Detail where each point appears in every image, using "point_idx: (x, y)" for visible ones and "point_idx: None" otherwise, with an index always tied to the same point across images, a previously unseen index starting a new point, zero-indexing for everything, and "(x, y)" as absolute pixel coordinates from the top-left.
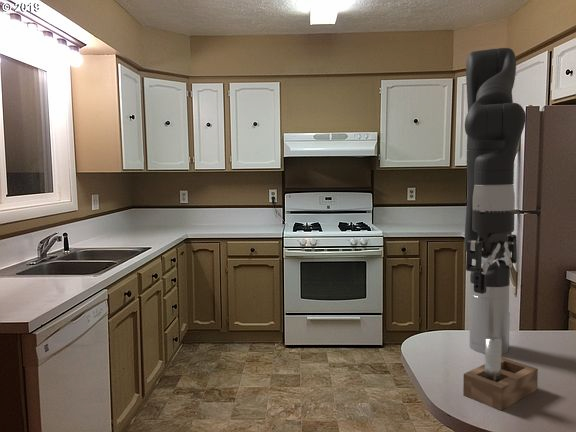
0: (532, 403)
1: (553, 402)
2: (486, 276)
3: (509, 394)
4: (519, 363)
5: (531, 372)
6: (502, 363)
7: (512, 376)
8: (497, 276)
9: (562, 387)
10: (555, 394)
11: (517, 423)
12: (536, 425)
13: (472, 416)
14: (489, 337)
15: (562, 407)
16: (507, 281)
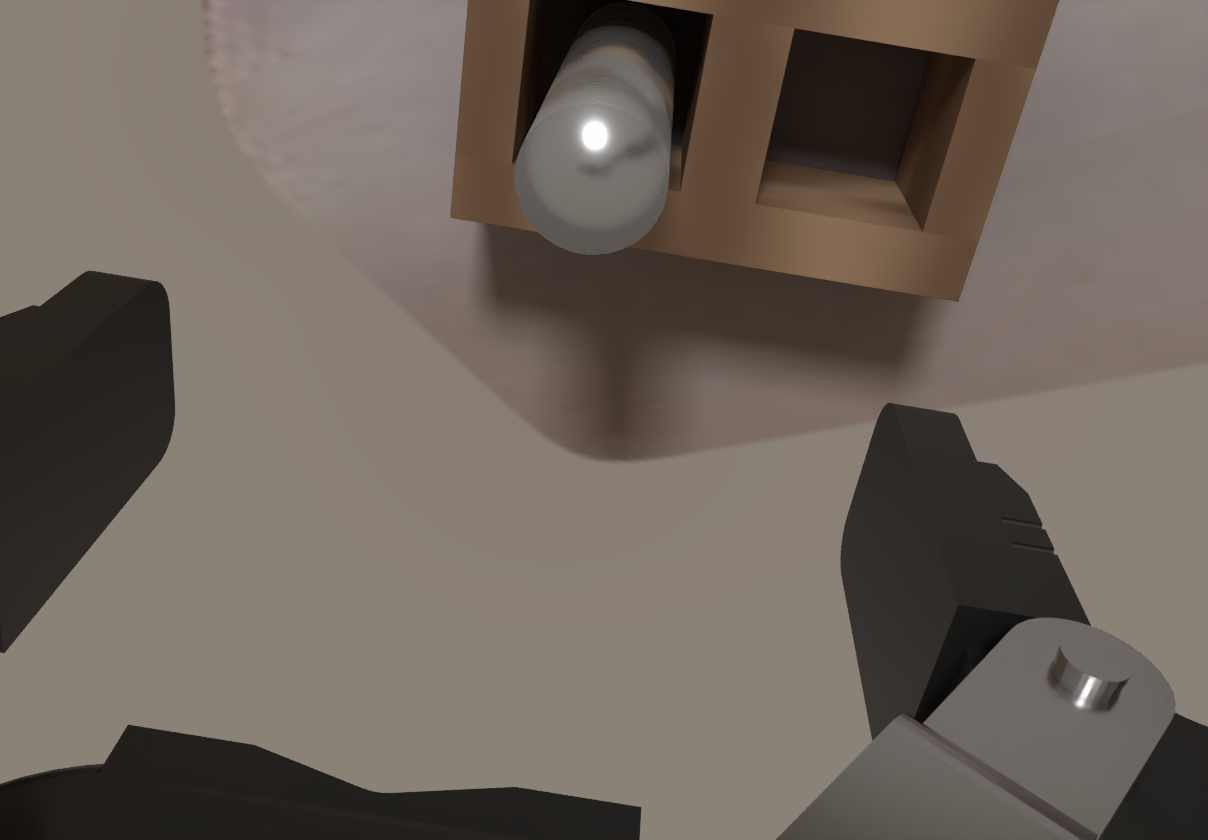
0: (718, 269)
1: (812, 352)
2: (24, 626)
3: None
4: (990, 170)
5: (862, 284)
6: (937, 50)
7: (690, 211)
8: (914, 473)
9: (1073, 342)
10: (935, 335)
11: (421, 277)
12: (475, 352)
13: (297, 57)
14: (612, 134)
15: (777, 400)
16: (853, 601)
